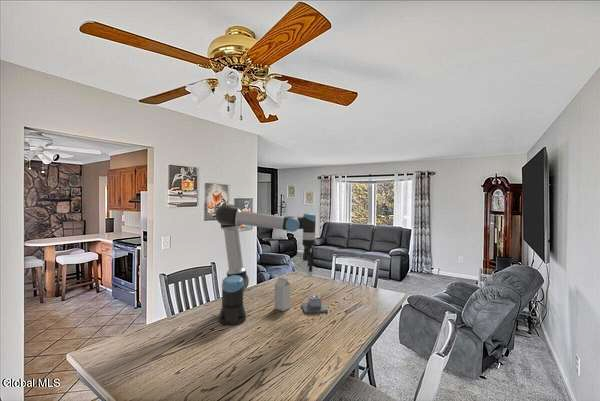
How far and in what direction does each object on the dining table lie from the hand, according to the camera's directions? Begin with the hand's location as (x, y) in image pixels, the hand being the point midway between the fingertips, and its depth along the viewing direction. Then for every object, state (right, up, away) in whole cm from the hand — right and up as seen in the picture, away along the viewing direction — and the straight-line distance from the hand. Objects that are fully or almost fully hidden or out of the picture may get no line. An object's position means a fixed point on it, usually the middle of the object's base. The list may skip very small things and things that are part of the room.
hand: (307, 273), depth 175 cm
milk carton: (-15, -23, +4) cm, 28 cm away
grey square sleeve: (+4, -21, +4) cm, 22 cm away
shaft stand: (+4, -23, +4) cm, 24 cm away
